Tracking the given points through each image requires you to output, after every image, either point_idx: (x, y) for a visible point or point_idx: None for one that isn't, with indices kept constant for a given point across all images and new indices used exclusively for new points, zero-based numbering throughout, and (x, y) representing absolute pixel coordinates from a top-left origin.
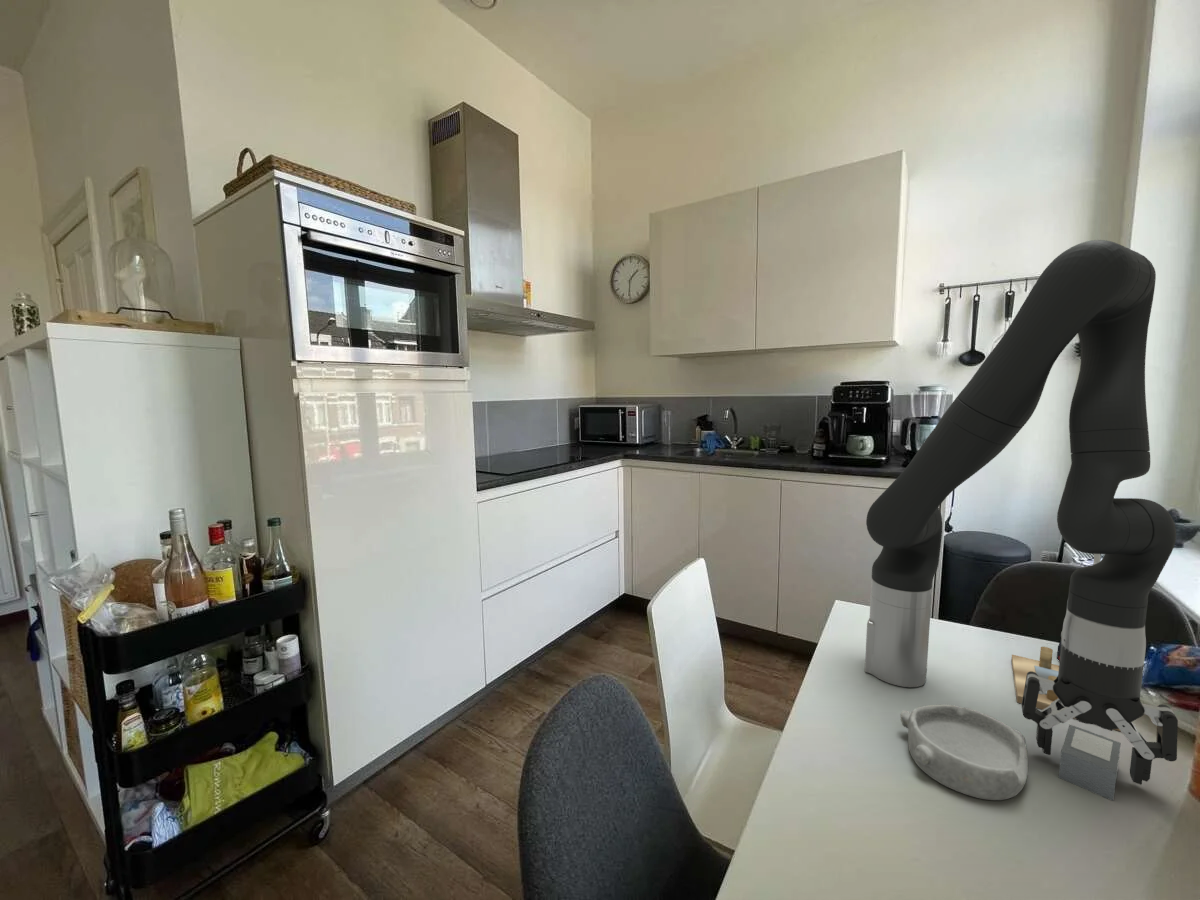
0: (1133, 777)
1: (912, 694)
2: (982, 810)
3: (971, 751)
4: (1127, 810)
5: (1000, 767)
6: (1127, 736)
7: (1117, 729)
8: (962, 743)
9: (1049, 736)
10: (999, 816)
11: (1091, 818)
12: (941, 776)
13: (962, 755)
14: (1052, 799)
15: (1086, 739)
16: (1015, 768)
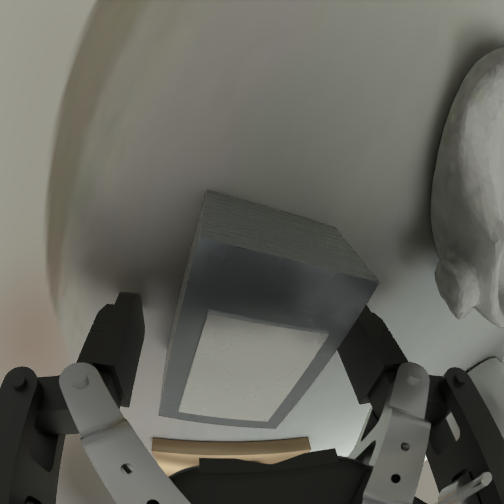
0: (137, 306)
1: (476, 355)
2: (501, 25)
3: None
4: (177, 161)
5: (502, 145)
6: (135, 448)
7: (159, 440)
8: None
9: (380, 346)
10: (483, 11)
11: (302, 53)
12: None
13: None
14: (386, 101)
15: (254, 394)
16: (491, 141)
